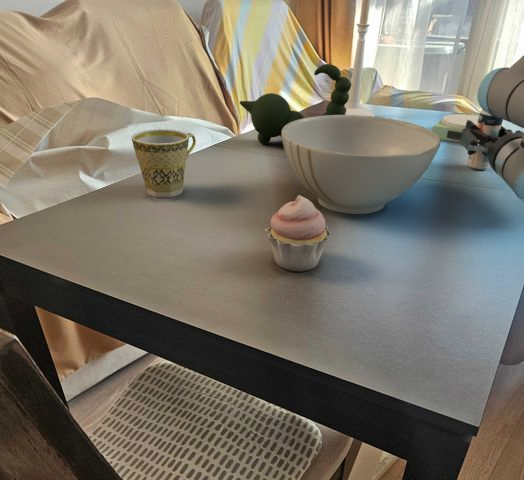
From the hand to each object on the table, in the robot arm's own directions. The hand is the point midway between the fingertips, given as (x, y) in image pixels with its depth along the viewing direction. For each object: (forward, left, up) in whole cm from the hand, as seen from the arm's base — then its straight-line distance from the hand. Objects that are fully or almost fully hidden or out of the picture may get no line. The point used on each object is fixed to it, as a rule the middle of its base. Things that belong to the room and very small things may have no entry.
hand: (479, 127), depth 111 cm
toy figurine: (+40, +14, -7) cm, 43 cm away
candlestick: (+40, -23, -7) cm, 46 cm away
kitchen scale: (+7, -21, -7) cm, 23 cm away
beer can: (-2, +5, -7) cm, 9 cm away
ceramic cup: (+44, +54, -7) cm, 70 cm away
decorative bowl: (+13, +40, -7) cm, 42 cm away
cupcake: (+10, +67, -7) cm, 68 cm away
